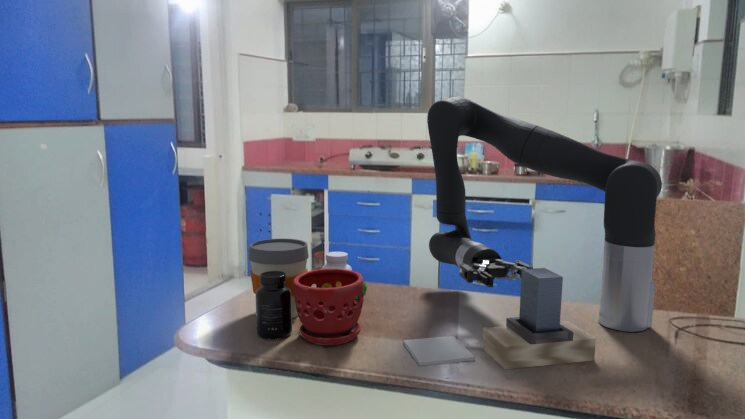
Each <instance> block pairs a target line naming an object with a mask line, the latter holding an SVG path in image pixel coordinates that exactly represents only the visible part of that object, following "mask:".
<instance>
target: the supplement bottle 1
mask: <svg viewBox="0 0 745 419" xmlns="http://www.w3.org/2000/svg"><path fill="white" fill-rule="evenodd" d="M285 284H286V274H285V273H284V272H281V271H268V272H264V273H262V274H261V275H260V285H262V286H261V287H259V288H258V289H257V291H256V294H255V317H256V319H255V321H256V323H255V324H256V334H257V336H258V337H260V338H261V339H264V340H272V341H273V340H281V339H285V338H287V337H289V336H290V335H291V334H292V332H293V318H292V296H291V290H290V288H289V287H288V286H286V285H285Z"/></svg>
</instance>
